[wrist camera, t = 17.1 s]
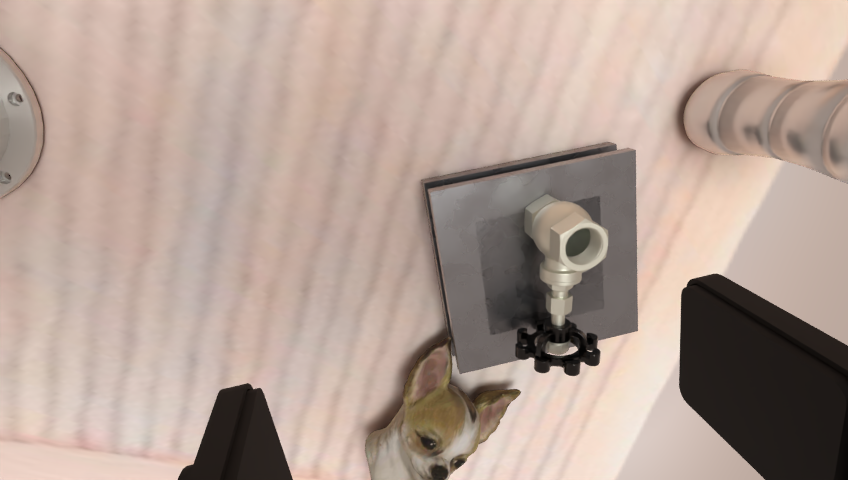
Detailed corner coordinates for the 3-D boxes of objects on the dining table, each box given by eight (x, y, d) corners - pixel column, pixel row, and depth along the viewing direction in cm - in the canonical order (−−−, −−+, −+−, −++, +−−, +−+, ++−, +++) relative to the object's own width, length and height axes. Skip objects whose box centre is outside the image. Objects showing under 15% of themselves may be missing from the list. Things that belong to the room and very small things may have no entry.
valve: (503, 194, 38) (502, 335, 42) (536, 221, 32) (530, 382, 36) (586, 187, 39) (577, 325, 43) (634, 211, 32) (618, 370, 37)
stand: (450, 348, 46) (460, 374, 42) (421, 180, 40) (430, 192, 37) (614, 309, 48) (637, 330, 44) (608, 141, 42) (635, 150, 38)
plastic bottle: (659, 104, 42) (921, 140, 23) (727, 51, 41) (1052, 44, 22) (691, 164, 44) (952, 241, 25) (756, 115, 43) (1072, 157, 25)
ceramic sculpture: (332, 508, 39) (464, 368, 38) (328, 435, 47) (436, 317, 46) (430, 561, 43) (553, 435, 41) (411, 484, 51) (513, 377, 50)
